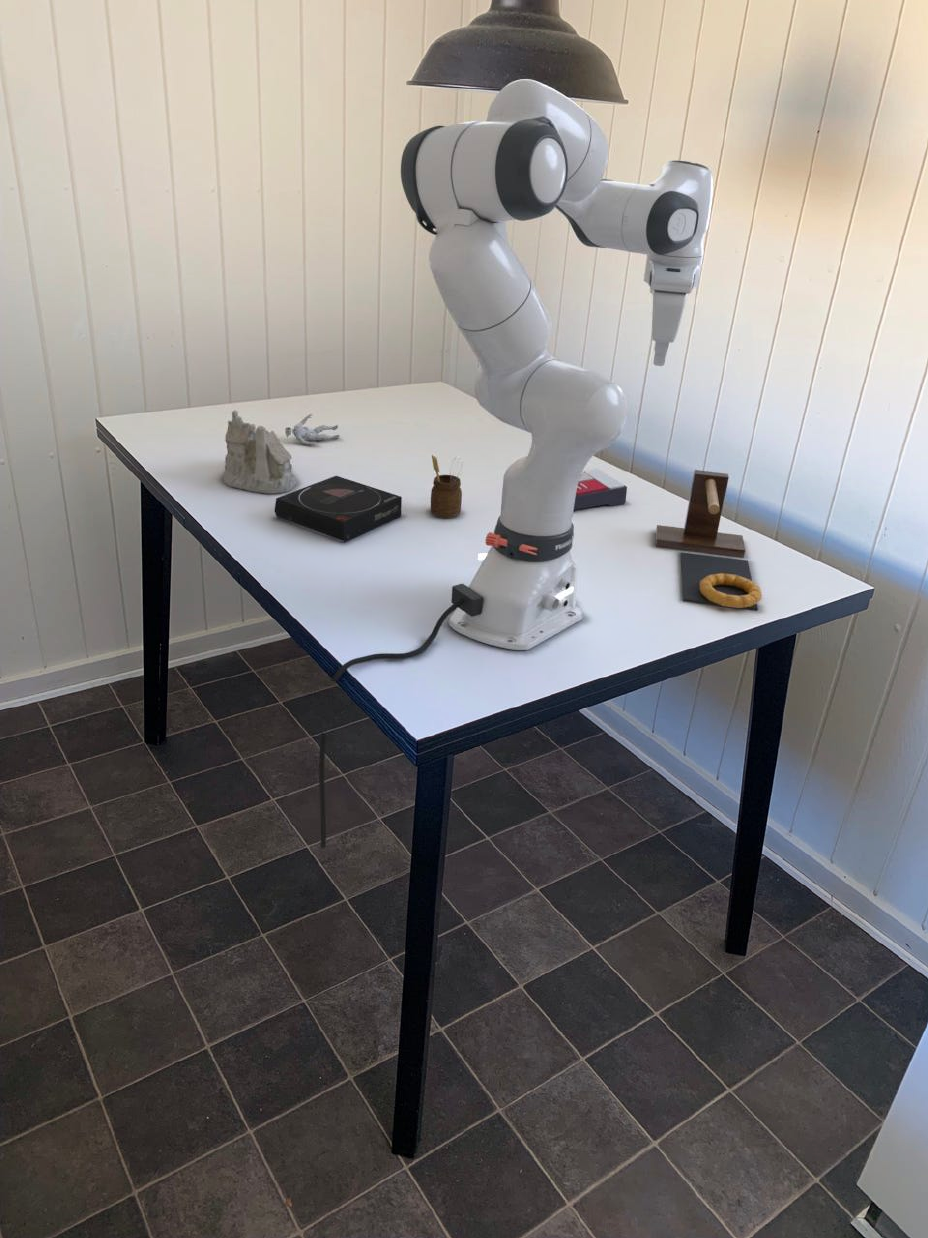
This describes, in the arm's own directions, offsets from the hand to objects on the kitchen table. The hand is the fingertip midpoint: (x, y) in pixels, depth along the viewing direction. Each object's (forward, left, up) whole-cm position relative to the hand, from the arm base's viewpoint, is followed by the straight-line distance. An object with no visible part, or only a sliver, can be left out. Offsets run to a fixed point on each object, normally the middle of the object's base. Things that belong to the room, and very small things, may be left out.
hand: (658, 358), depth 161 cm
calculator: (+15, +17, -34) cm, 41 cm away
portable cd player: (-23, +50, -34) cm, 65 cm away
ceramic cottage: (-16, +74, -34) cm, 83 cm away
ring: (-11, -22, -33) cm, 41 cm away
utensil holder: (-9, +35, -34) cm, 50 cm away
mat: (-6, -18, -34) cm, 39 cm away
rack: (+3, -12, -34) cm, 36 cm away
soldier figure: (+9, +81, -34) cm, 88 cm away
